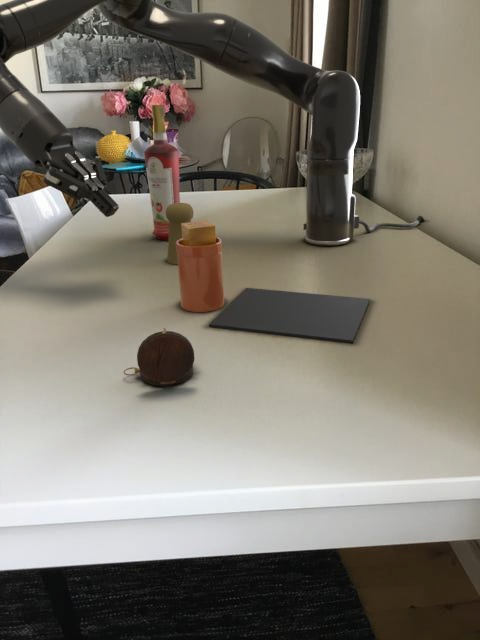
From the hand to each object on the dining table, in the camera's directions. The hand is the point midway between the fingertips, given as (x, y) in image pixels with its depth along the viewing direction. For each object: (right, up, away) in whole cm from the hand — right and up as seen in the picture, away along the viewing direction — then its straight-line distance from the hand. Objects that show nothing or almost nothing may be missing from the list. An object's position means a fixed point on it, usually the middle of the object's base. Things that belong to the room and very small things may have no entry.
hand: (113, 212), depth 87 cm
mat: (+27, -16, -4) cm, 32 cm away
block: (+13, -6, -3) cm, 15 cm away
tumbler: (+14, -14, +1) cm, 20 cm away
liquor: (+3, +2, +41) cm, 41 cm away
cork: (+8, -5, +24) cm, 26 cm away
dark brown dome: (+10, -23, -21) cm, 33 cm away
